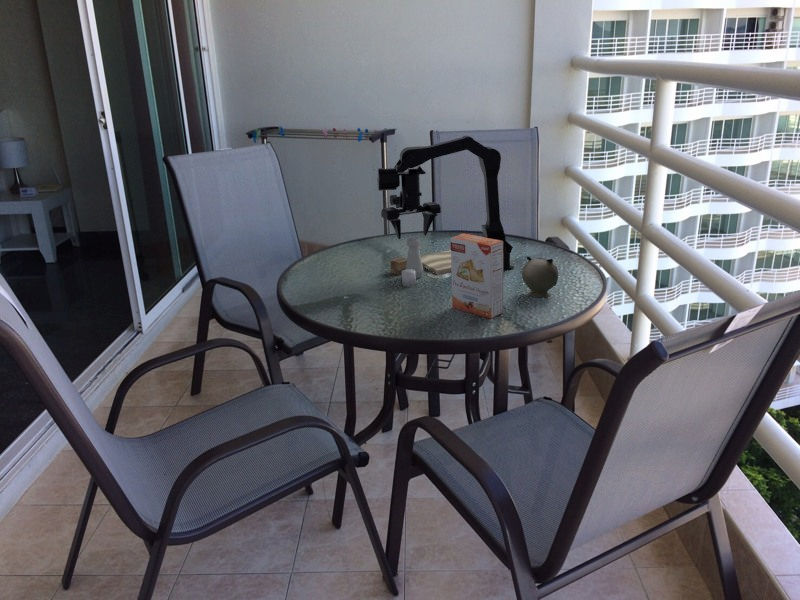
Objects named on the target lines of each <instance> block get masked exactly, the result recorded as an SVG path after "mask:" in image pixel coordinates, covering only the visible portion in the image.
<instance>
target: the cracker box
mask: <svg viewBox="0 0 800 600" xmlns="http://www.w3.org/2000/svg"><path fill="white" fill-rule="evenodd" d="M449 241H450V250H451V272H450V273H451V301H452V302H451V303H452V304H451V305H452V308H453V309H457V310H460V311H462V312H463V311H464V312H467V313H470V314H473V315H477V316H480V317H484V318H487V319H490V320H491V319H493V318H495V317H497V316H499V315H501V314H503V313H504V271H503V241H501V240H495V239H490V238H485V237H482V236H479V235H475V234H468V233H459V234H458V235H454V236H452V237H450V240H449Z"/></svg>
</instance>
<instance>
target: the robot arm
mask: <svg viewBox="0 0 800 600" xmlns="http://www.w3.org/2000/svg"><path fill="white" fill-rule="evenodd" d="M462 151H469V153H472V154H473V155H475V156H477V157H478V162H479V165H480V169H481V173H482V175H483V181H484V194H485V195H484V197H485V206H486V211H485V212H486V221H485V224H481V229H482V234H481V237H485V238H490V239H495V240H501V241H503V272H504V271H508V270H513V269H514V268H515V267H514V266H513V265H511V253H512V251H513V248H514V247H513V246H512V245H511V244H510V243H509V242H508V241H507V240H506V234H505V229H504V227H503V224H502V222H501V213H500V209H501V208H500V196H499V183H498V182H499V181H498V175H499V173H500V170H501V161H502V155H501V153H500V151H499V150H497V149H495V148H494V147H491V146H485V145H483V144H481V143H480V142H478V141H477V140H475V139H474V138H473V137H472V136H469V135H463V136H462V137H457V138H454V139H451V140H447V141H442V142H439V143H434V144H431V145H425V146H407V147H405V148H403V149H402V150H401V151H400V153H399V159H398V161H397V162H396V164H394V166H393V168H389V167H387V168H384V167H382V168H377V179H376V181H377V189H378V192H379V191H381V192H382V191H394V190H395V191H396V190H397V188H399V187H400V185H401V191H400V192H399V196H398V195H397V194H390V195H389V203H390V206H391V207H383V208H382V209H381V211H380V213H381V214H380V216H381V218H383V219H385V220H386V221H389V222H390V223H391V225H392V227H393V229H394V232H395V234H396V237H397V239H398V240H401V238H402V237H401V235H402V231H401V229H402V227H401V224H402V223H401V221H402V220H401V219H400V218H399V217H400V216H404V215H410V214H418V213H421V214H422V217H423V228H422V229H423V235H424V236H427V235H428V232H429V229H430V228H431V226H432V223H433V221H434V220H435V218H436V217H438V214H441V213H442V206H441V205H440V204H439V203H437V202H434V201H429V202H428V201H427V202H423V203H422V205H421V196H422V192H421V187H420V186H421V185H420V183H421V182H420V175H426V173H427V172H426V171H425V170H424V169H423V168H422V167H421V165H422V164H423V165H424V164H425V163H426V162H428V161H431V160H432V159H436V158H440V157H443V156H447V155H448V156H449V155H452V154H456V153H459V152H462ZM400 179H401V181H400ZM400 182H401V183H400ZM394 206H395V207H394Z"/></svg>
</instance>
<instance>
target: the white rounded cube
mask: <svg viewBox="0 0 800 600" xmlns="http://www.w3.org/2000/svg"><path fill="white" fill-rule="evenodd" d="M401 282H402V283H401V284H402V285H403V286H402V287H404V286H407V287H406V288H411V286H413V287H415V285H416V286H417V279H416V271H415V270H413V269H406V270H403V271H402V275H401Z"/></svg>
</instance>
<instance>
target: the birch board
mask: <svg viewBox="0 0 800 600" xmlns="http://www.w3.org/2000/svg"><path fill="white" fill-rule="evenodd" d="M420 256H421V261H422V265H423V269H425V268H426V270H427V269H428V271H429V270H430V271H429V272H431V271H432V272H431V273H433V272H434V273H433V274H435V275H436V274H437V275H442V274H446V273H451V249H449V250H444V251H439V252H434V253H428V254H424V255H420Z"/></svg>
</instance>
